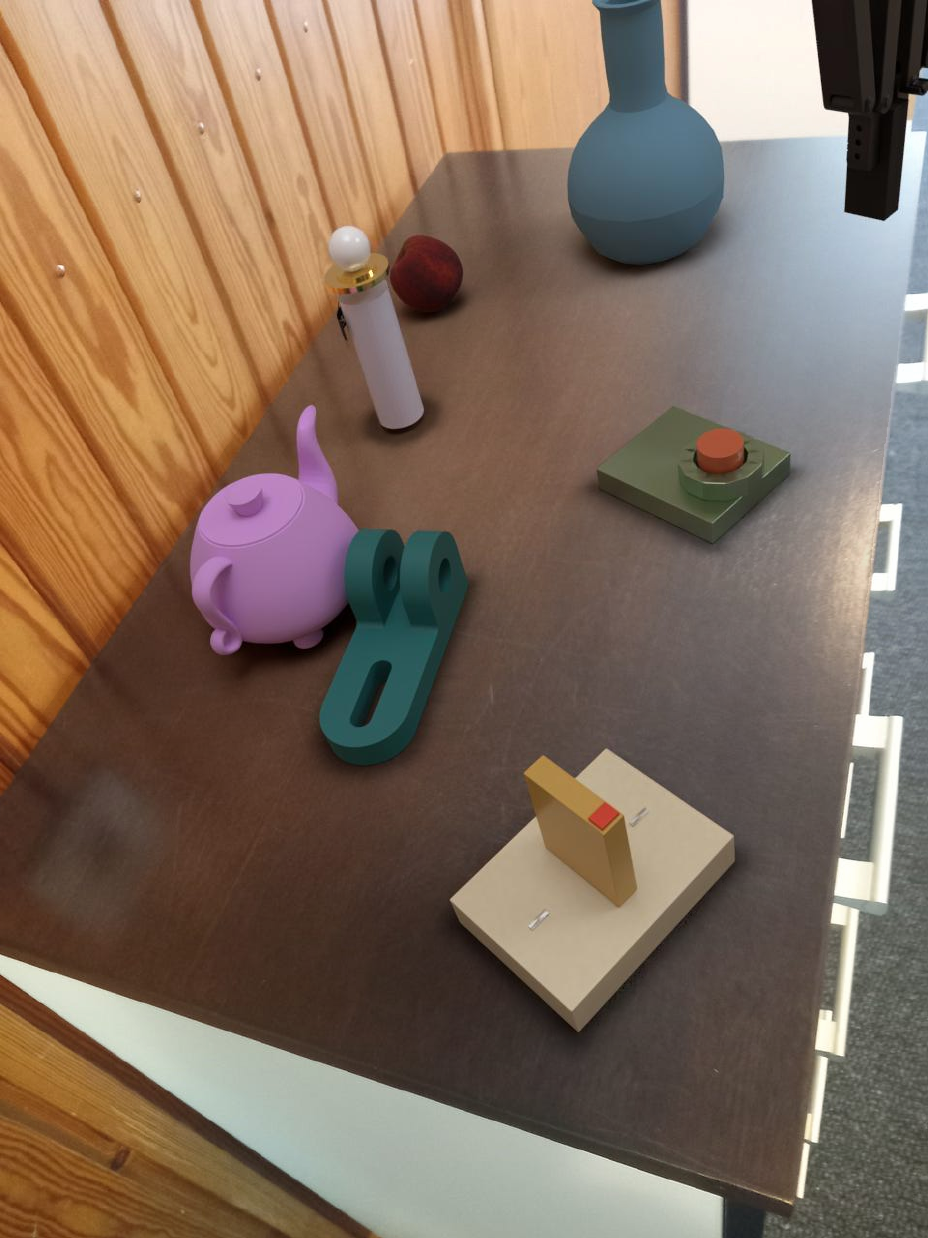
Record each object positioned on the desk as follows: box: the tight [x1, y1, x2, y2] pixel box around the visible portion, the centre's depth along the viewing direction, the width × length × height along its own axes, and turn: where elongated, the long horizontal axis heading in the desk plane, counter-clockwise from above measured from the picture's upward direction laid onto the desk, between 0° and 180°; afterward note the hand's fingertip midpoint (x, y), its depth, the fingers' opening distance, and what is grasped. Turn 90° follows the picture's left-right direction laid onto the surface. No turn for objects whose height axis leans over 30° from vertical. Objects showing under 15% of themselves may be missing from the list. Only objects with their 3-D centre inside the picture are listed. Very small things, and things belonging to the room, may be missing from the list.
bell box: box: [596, 405, 792, 544], centre depth 85 cm, size 12×10×4 cm
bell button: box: [696, 428, 744, 474], centre depth 81 cm, size 4×4×2 cm
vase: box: [566, 0, 725, 266], centre depth 105 cm, size 16×16×25 cm
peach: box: [389, 234, 464, 313], centre depth 111 cm, size 7×8×8 cm
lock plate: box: [449, 748, 736, 1033], centre depth 62 cm, size 14×10×3 cm
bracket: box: [318, 528, 470, 766], centre depth 76 cm, size 18×7×8 cm, turn 164°
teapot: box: [189, 404, 359, 656], centre depth 82 cm, size 20×14×12 cm
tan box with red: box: [522, 754, 637, 907], centre depth 58 cm, size 6×2×8 cm, turn 42°
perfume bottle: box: [323, 225, 425, 430], centre depth 94 cm, size 6×6×20 cm
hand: (870, 210), depth 63 cm, fingers closed
